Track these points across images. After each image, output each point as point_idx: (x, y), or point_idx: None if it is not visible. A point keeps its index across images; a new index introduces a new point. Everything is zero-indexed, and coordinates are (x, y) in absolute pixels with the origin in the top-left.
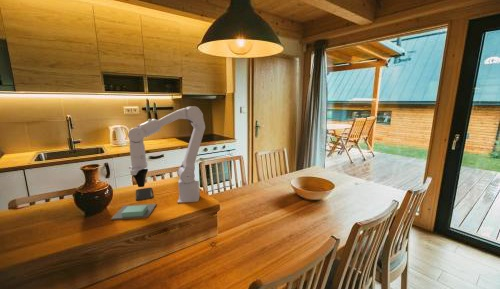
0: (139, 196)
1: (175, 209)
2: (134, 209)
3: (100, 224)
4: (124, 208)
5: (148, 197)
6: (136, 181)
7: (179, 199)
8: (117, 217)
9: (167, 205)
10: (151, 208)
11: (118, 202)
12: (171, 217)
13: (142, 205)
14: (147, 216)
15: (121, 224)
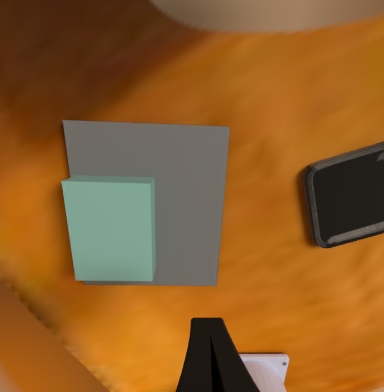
0: (355, 172)
1: (154, 355)
2: (100, 236)
3: (17, 81)
4: (188, 145)
5: (315, 229)
6: (178, 383)
7: (242, 360)
8: (74, 151)
9: None
10: (164, 278)
11: (315, 58)
12: (84, 354)
13: (150, 259)
14: (84, 281)
15: (22, 191)
